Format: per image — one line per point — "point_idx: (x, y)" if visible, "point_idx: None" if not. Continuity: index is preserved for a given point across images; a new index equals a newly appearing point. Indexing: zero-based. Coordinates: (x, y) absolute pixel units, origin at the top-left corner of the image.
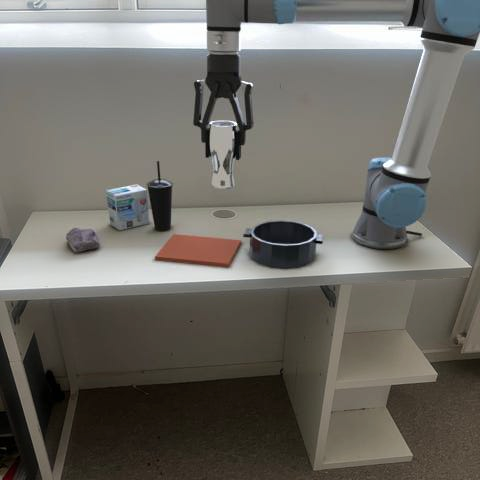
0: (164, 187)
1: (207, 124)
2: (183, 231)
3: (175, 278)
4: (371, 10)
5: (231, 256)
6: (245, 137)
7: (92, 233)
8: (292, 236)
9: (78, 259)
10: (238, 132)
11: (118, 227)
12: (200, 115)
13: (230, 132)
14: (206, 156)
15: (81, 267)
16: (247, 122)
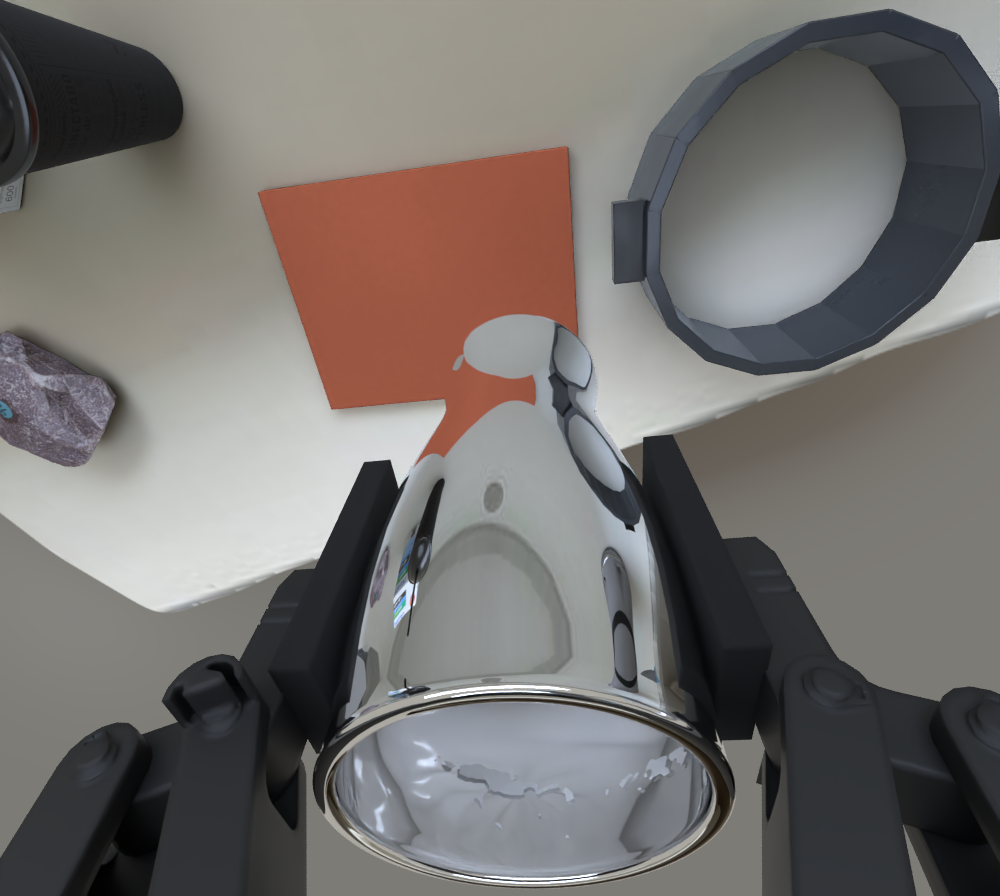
0: (28, 156)
1: (260, 740)
2: (254, 97)
3: None
4: None
5: (573, 329)
6: (798, 597)
7: (48, 389)
8: (837, 43)
9: (140, 465)
10: (739, 736)
11: (4, 210)
12: (82, 892)
13: (649, 782)
14: None
15: (192, 500)
16: (951, 888)
